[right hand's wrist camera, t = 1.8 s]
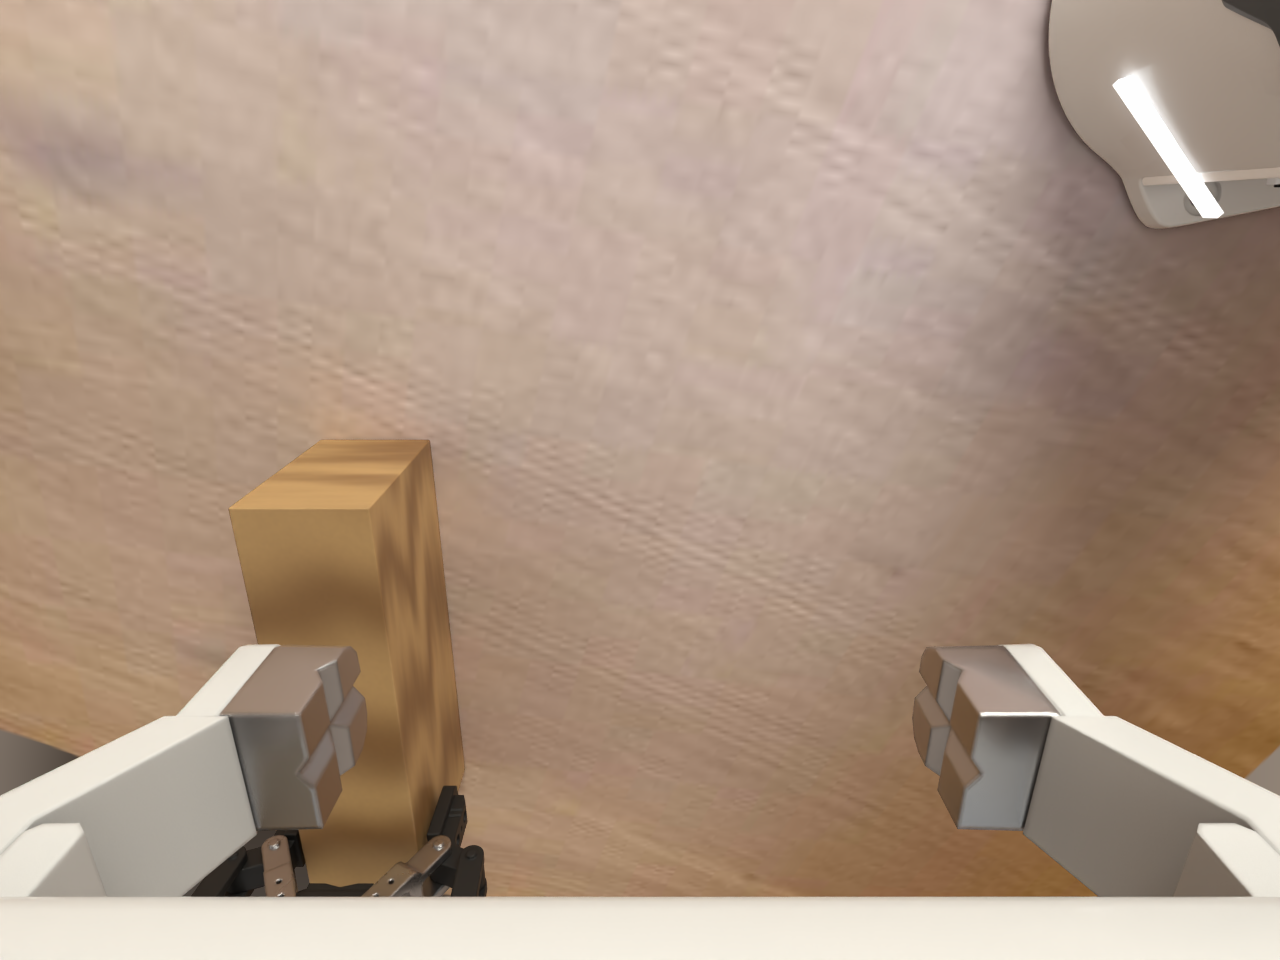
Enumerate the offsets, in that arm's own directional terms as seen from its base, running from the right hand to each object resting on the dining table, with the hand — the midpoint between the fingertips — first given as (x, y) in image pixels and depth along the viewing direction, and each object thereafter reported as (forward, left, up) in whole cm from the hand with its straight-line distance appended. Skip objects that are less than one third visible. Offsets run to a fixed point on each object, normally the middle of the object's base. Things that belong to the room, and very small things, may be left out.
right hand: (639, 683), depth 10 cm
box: (+14, +17, -29) cm, 36 cm away
